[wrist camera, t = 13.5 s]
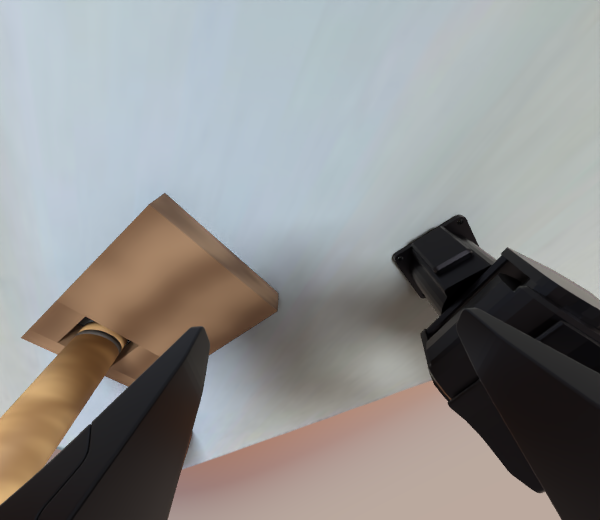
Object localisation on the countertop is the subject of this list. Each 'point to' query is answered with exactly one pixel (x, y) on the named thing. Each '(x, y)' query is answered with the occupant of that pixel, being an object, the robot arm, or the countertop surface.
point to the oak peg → (53, 404)
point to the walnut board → (159, 291)
